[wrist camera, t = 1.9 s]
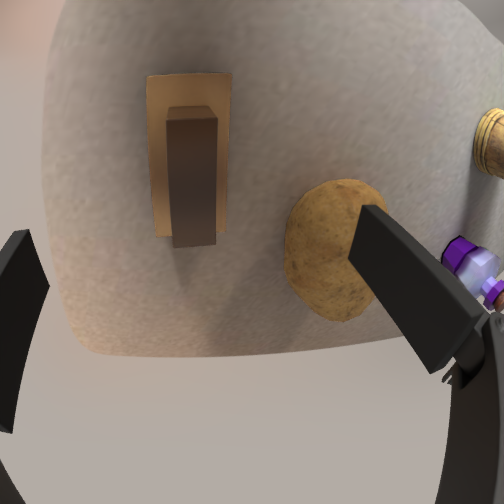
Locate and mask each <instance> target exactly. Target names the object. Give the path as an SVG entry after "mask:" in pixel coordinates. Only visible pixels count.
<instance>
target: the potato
mask: <svg viewBox="0 0 504 504" xmlns="http://www.w3.org/2000/svg"><path fill="white" fill-rule="evenodd" d="M367 204H376V205H378V206H379V207H380V208H381V209H382V210H383V211H385V212H386V213H387V214H388V215H389V213H388V210H387V207H386V204H385V201H384V199H383V197H382V196H381V195H380V193H379V192H378V191H377V190H375V189H374V188H372V187H370V186H369V185H367V184H365V183H364V182H362V181H359V180H353V179H341V180H334V181H327V182H325V183H323V184H321V185H319V186H317V187H315V188H314V189H312V190H310V191H308V192H306V193H305V194H304V196H303V197H302V198H301V199H300V200H299V201H298V203H297V204H296V205H295V206H294V207H293V209H292V211H291V214H290V216H289V219H288V221H287V224H286V233H285V257H284V271H285V274H286V277H287V281H288V283H289V285H290V286H291V287H292V289H293V290H294V292H295V293H296V294H297V295H298V296H299V297H300V298H301V299H302V300H303V301H304V302H305V303H306V304H307V305H308V306H309V307H310V308H311V309H312V310H313V311H314V312H315V313H317V314H319V315H320V316H322V317H324V318H325V319H327V320H329V321H337V322H345V321H347V320H350V319H352V318H354V317H357V316H359V315H361V314H362V312H363V311H364V310H365V309H366V308H367V306H368V305H369V304H370V303H371V302H372V300H373V299H374V297H375V294H374V293H373V292H372V290H371V289H370V288H369V286H368V285H367V284H366V282H365V281H364V280H363V278H362V277H361V276H360V274H359V273H358V272H357V270H356V269H355V268H354V267H353V265H352V264H351V263H350V261H349V260H348V255H349V252H350V248H351V245H352V241H353V237H354V234H355V230H356V226H357V222H358V219H359V215H360V211H361V207H362V205H367Z"/></svg>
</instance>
